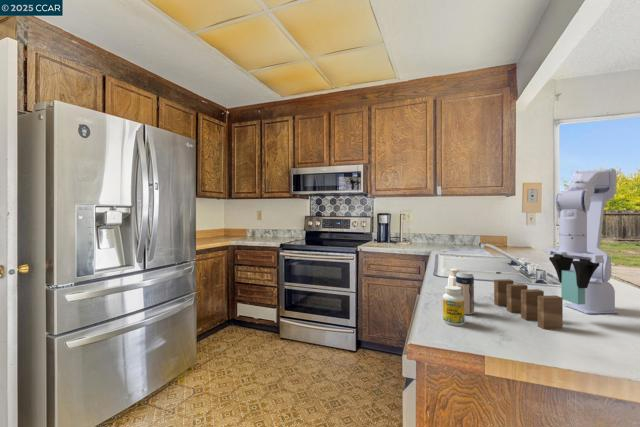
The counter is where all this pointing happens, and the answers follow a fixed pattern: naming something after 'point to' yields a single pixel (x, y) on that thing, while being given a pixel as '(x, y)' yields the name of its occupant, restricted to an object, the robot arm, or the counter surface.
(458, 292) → the supplement bottle
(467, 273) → the beer can
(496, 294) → the walnut domino
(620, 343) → the counter surface
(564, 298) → the teal domino
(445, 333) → the counter surface
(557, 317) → the walnut domino
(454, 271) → the pepper shaker
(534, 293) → the walnut domino
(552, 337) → the counter surface
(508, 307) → the walnut domino
